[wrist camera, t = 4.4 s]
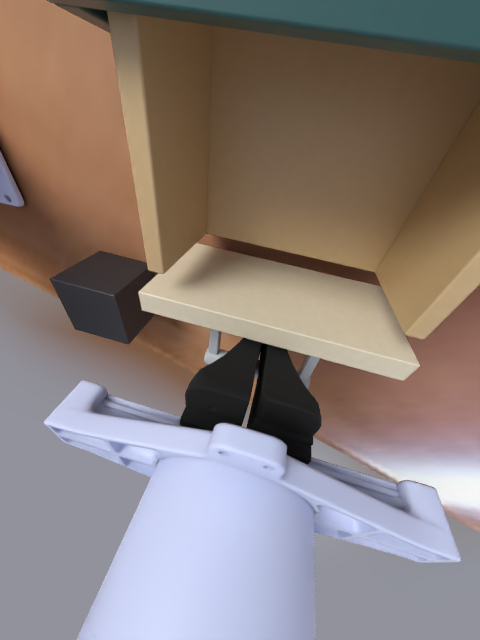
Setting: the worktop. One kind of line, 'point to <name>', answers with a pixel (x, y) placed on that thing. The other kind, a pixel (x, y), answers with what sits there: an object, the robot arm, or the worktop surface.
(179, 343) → the worktop surface
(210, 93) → the drawer
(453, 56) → the cabinet
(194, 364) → the worktop surface
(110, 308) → the block
